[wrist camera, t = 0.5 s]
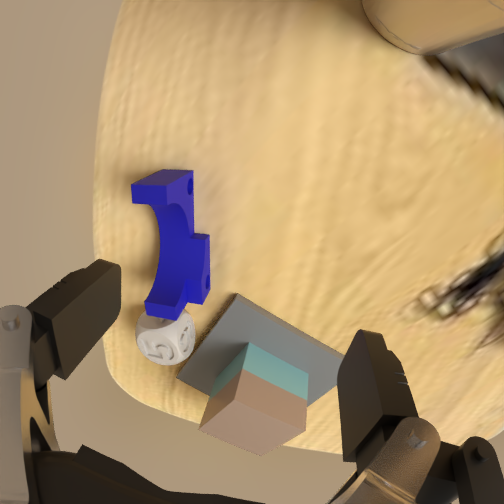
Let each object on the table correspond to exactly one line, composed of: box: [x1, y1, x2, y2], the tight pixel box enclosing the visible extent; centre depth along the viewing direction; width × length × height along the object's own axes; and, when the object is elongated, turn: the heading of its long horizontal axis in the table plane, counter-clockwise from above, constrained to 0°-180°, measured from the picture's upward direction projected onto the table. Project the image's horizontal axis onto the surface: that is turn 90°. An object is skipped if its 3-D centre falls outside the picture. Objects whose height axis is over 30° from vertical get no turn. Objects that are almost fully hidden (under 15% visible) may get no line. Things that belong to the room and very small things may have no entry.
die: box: [135, 309, 195, 365], centre depth 32 cm, size 5×5×5 cm
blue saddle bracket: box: [131, 170, 210, 321], centre depth 27 cm, size 12×4×6 cm, turn 177°
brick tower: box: [176, 294, 345, 456], centre depth 31 cm, size 16×16×9 cm
